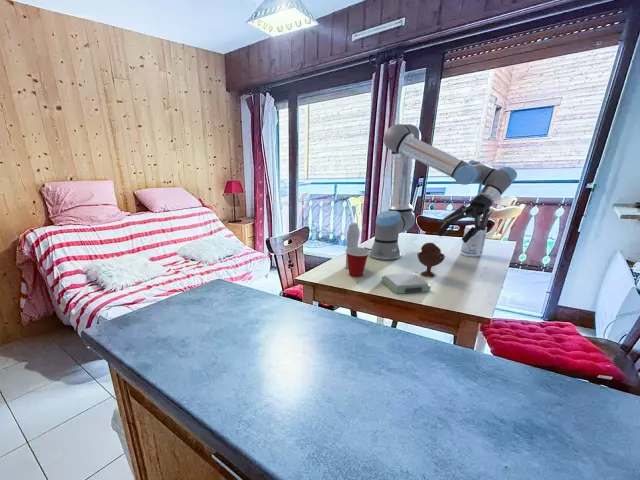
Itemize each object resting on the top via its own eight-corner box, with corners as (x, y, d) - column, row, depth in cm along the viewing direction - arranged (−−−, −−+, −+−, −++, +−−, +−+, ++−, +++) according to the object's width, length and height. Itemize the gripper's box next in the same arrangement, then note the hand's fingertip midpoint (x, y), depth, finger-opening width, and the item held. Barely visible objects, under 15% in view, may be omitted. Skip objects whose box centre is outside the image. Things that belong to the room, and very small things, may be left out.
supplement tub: (471, 251, 176) (476, 224, 170) (486, 255, 167) (492, 227, 162) (455, 253, 174) (460, 225, 169) (470, 258, 166) (476, 229, 160)
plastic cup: (355, 280, 146) (357, 255, 141) (339, 274, 155) (340, 249, 150) (373, 275, 150) (375, 250, 146) (356, 269, 159) (358, 245, 155)
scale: (381, 281, 144) (382, 274, 142) (412, 279, 144) (413, 272, 143) (396, 294, 130) (397, 287, 129) (431, 292, 130) (432, 284, 129)
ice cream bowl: (439, 280, 141) (444, 246, 135) (411, 276, 147) (416, 243, 141) (443, 273, 148) (449, 241, 143) (417, 269, 155) (421, 238, 149)
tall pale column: (353, 262, 169) (355, 220, 161) (360, 264, 167) (363, 221, 158) (342, 267, 163) (344, 224, 154) (349, 269, 160) (351, 225, 152)
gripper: (516, 209, 132) (479, 249, 134) (464, 202, 154) (433, 237, 156) (509, 196, 129) (471, 238, 131) (457, 191, 151) (425, 227, 153)
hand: (450, 237), depth 144 cm, fingers open, 13 cm apart
